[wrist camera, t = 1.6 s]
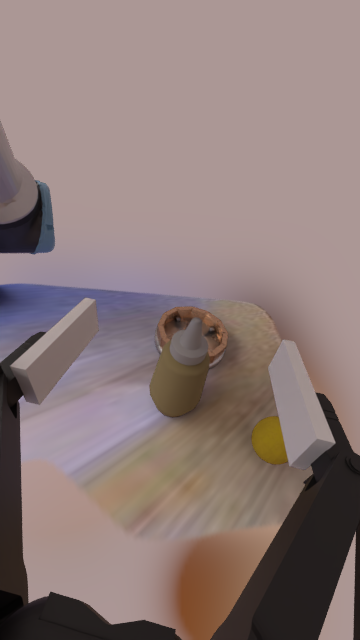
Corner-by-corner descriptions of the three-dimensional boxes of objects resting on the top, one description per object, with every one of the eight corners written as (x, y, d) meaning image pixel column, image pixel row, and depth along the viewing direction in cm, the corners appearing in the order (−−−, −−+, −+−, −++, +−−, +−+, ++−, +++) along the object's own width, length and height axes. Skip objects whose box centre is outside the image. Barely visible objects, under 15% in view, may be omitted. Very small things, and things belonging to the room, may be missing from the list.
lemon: (278, 437, 35) (306, 415, 30) (281, 477, 31) (314, 460, 25) (244, 425, 35) (266, 401, 30) (242, 463, 31) (267, 442, 26)
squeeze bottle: (205, 403, 37) (246, 328, 25) (170, 436, 32) (199, 362, 20) (173, 370, 40) (195, 291, 29) (137, 396, 36) (145, 313, 24)
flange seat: (143, 356, 42) (145, 343, 39) (166, 310, 53) (168, 298, 50) (220, 381, 41) (226, 369, 38) (226, 328, 52) (232, 317, 49)
